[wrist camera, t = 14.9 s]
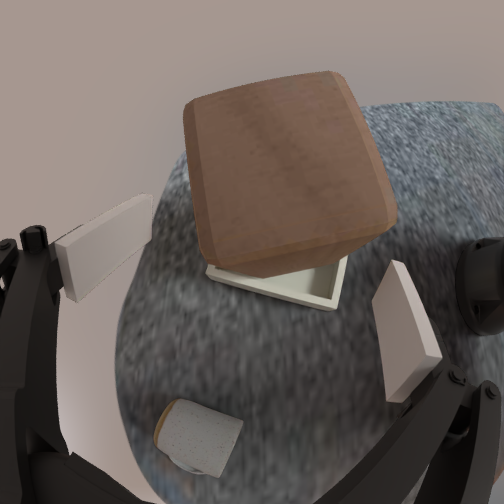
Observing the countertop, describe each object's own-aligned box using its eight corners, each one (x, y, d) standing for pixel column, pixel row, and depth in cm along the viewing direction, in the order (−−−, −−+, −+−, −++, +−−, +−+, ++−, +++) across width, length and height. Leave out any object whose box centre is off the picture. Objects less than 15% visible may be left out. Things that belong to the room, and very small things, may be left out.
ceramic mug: (181, 388, 29) (159, 403, 22) (246, 412, 28) (241, 435, 21) (160, 453, 27) (137, 478, 19) (220, 476, 26) (209, 508, 18)
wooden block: (255, 280, 32) (195, 269, 12) (239, 199, 33) (176, 98, 14) (340, 262, 31) (410, 223, 11) (319, 182, 32) (342, 63, 13)
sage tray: (349, 204, 35) (357, 191, 32) (329, 311, 31) (336, 309, 28) (245, 177, 37) (244, 162, 33) (211, 279, 33) (205, 273, 30)
